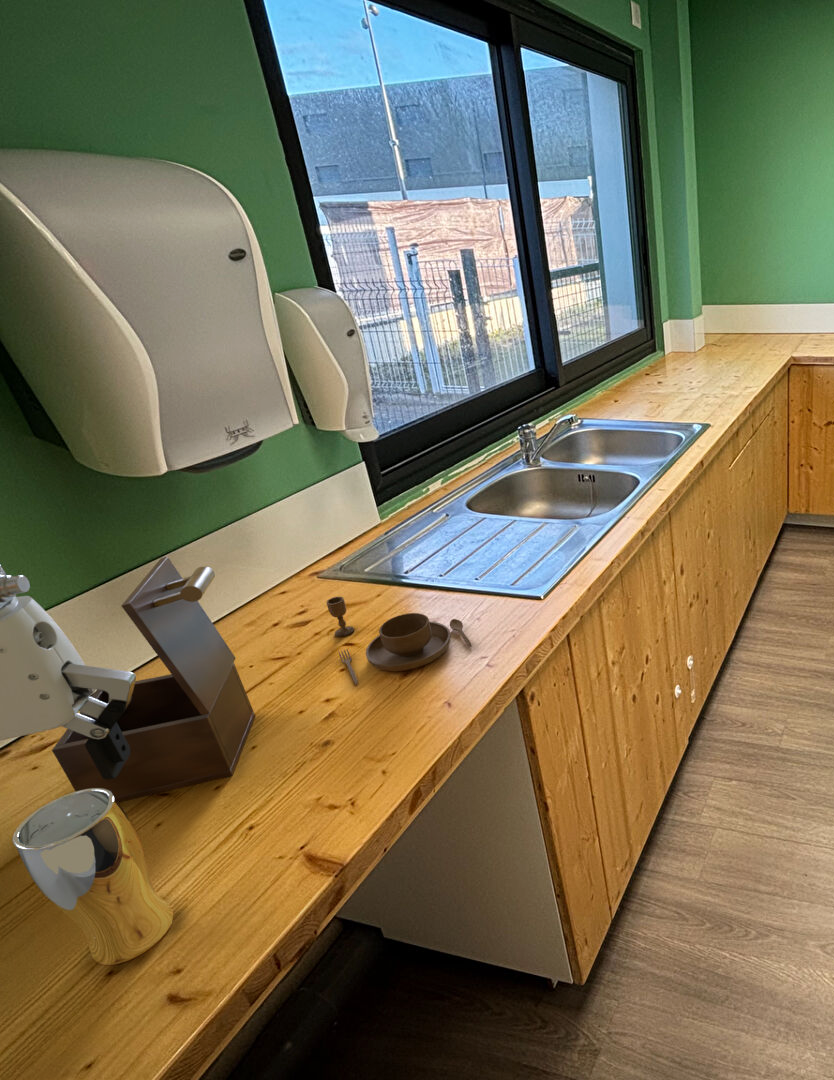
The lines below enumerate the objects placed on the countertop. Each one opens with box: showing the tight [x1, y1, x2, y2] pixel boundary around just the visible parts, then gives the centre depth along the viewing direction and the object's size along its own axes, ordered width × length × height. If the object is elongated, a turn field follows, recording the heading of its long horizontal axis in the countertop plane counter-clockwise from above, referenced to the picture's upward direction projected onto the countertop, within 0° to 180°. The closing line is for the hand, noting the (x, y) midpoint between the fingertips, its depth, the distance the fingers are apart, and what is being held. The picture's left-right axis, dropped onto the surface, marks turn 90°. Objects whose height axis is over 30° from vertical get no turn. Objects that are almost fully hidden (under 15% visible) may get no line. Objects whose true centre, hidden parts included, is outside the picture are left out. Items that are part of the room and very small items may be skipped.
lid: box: [121, 556, 236, 715], centre depth 81 cm, size 15×12×6 cm
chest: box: [51, 662, 256, 803], centre depth 84 cm, size 15×12×9 cm
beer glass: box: [12, 788, 174, 966], centre depth 62 cm, size 7×7×15 cm
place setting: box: [325, 596, 473, 686], centre depth 108 cm, size 18×20×6 cm
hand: (47, 784), depth 57 cm, fingers open, 9 cm apart
